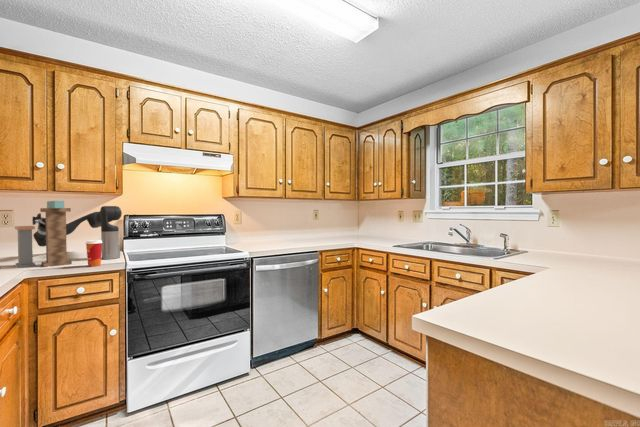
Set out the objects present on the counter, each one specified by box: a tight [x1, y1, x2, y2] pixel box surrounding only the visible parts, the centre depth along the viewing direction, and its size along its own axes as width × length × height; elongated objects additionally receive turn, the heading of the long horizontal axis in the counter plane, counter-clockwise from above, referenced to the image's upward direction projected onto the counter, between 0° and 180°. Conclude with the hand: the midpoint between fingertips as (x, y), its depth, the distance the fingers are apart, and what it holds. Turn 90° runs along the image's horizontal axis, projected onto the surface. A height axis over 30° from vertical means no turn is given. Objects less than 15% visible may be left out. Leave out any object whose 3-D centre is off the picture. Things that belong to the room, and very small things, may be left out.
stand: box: [39, 207, 72, 268], centre depth 178 cm, size 12×8×32 cm, turn 139°
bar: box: [46, 200, 65, 208], centre depth 178 cm, size 4×24×4 cm, turn 49°
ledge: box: [14, 225, 37, 269], centre depth 175 cm, size 7×12×22 cm, turn 49°
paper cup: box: [85, 239, 103, 268], centre depth 174 cm, size 8×8×14 cm
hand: (49, 214), depth 190 cm, fingers open, 8 cm apart
